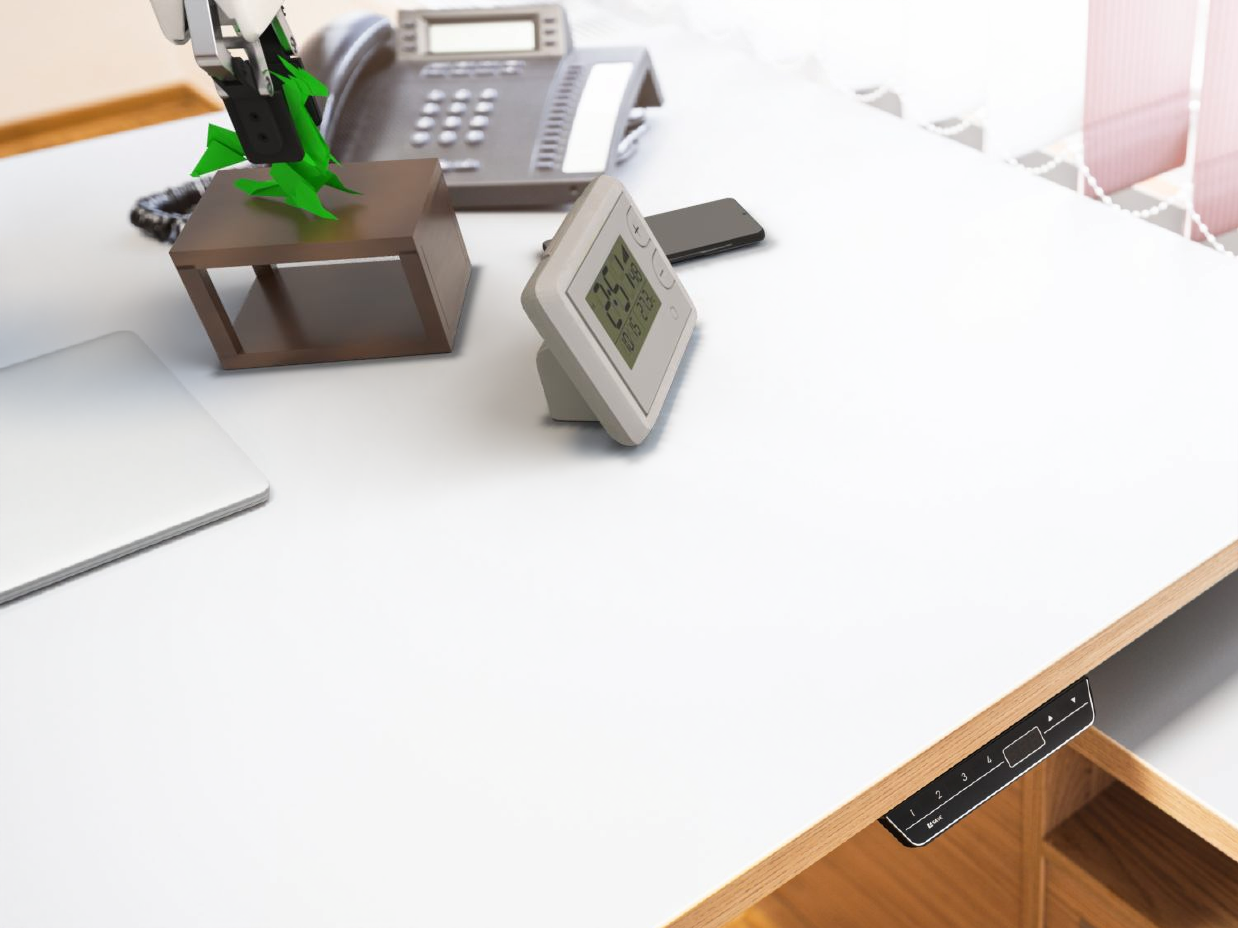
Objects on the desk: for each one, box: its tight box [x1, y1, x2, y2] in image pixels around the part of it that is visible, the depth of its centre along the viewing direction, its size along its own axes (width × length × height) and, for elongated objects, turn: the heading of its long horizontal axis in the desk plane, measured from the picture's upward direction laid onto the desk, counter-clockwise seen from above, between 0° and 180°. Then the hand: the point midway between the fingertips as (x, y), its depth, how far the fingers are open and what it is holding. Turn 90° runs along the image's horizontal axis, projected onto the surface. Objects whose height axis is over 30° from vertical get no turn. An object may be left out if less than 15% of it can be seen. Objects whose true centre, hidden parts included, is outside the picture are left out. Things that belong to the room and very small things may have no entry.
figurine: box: [189, 55, 364, 220], centre depth 81 cm, size 6×12×9 cm, turn 75°
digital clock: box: [520, 174, 698, 447], centre depth 81 cm, size 16×9×11 cm, turn 168°
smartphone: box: [542, 197, 766, 264], centre depth 98 cm, size 7×1×15 cm
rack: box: [168, 157, 473, 370], centre depth 88 cm, size 14×12×8 cm
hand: (286, 140), depth 82 cm, fingers closed on figurine, 4 cm apart
